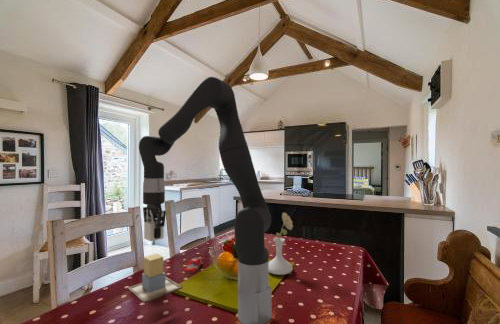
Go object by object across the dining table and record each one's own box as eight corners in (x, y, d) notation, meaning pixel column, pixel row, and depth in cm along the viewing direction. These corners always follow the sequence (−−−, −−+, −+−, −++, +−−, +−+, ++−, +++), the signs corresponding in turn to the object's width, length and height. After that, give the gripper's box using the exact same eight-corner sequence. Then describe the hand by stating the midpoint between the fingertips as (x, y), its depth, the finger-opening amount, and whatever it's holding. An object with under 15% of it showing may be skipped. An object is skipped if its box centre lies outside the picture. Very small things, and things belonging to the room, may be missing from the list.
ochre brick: (163, 273, 92) (163, 256, 93) (149, 277, 89) (149, 260, 89) (157, 269, 96) (157, 253, 96) (143, 273, 92) (143, 257, 92)
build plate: (182, 290, 92) (182, 286, 92) (144, 305, 82) (144, 301, 82) (163, 278, 102) (163, 275, 102) (127, 291, 91) (127, 287, 91)
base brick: (165, 286, 92) (165, 273, 92) (149, 292, 88) (149, 278, 88) (157, 281, 97) (157, 268, 97) (142, 287, 92) (142, 273, 92)
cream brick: (163, 238, 93) (163, 221, 93) (150, 241, 89) (150, 224, 89) (157, 235, 96) (157, 219, 96) (144, 238, 93) (144, 222, 93)
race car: (194, 276, 104) (194, 267, 104) (182, 276, 104) (182, 266, 104) (203, 264, 117) (203, 255, 117) (192, 263, 117) (192, 255, 118)
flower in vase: (279, 280, 100) (279, 217, 100) (260, 271, 108) (260, 212, 109) (300, 271, 108) (300, 213, 108) (281, 263, 117) (281, 209, 117)
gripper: (135, 189, 95) (135, 235, 95) (152, 192, 85) (152, 243, 85) (154, 188, 100) (154, 231, 100) (173, 191, 91) (173, 238, 90)
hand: (153, 236), depth 93 cm, fingers closed on cream brick, 5 cm apart
